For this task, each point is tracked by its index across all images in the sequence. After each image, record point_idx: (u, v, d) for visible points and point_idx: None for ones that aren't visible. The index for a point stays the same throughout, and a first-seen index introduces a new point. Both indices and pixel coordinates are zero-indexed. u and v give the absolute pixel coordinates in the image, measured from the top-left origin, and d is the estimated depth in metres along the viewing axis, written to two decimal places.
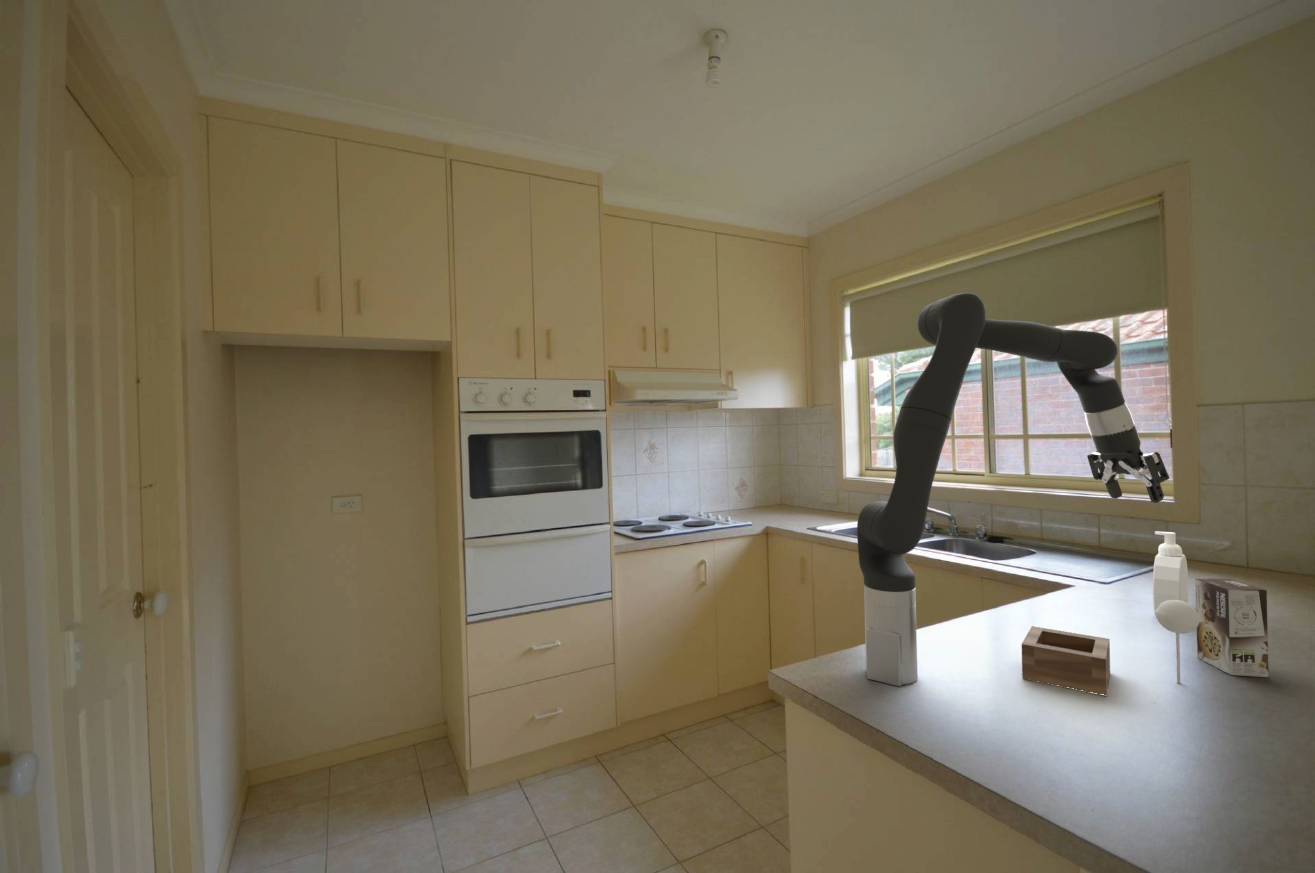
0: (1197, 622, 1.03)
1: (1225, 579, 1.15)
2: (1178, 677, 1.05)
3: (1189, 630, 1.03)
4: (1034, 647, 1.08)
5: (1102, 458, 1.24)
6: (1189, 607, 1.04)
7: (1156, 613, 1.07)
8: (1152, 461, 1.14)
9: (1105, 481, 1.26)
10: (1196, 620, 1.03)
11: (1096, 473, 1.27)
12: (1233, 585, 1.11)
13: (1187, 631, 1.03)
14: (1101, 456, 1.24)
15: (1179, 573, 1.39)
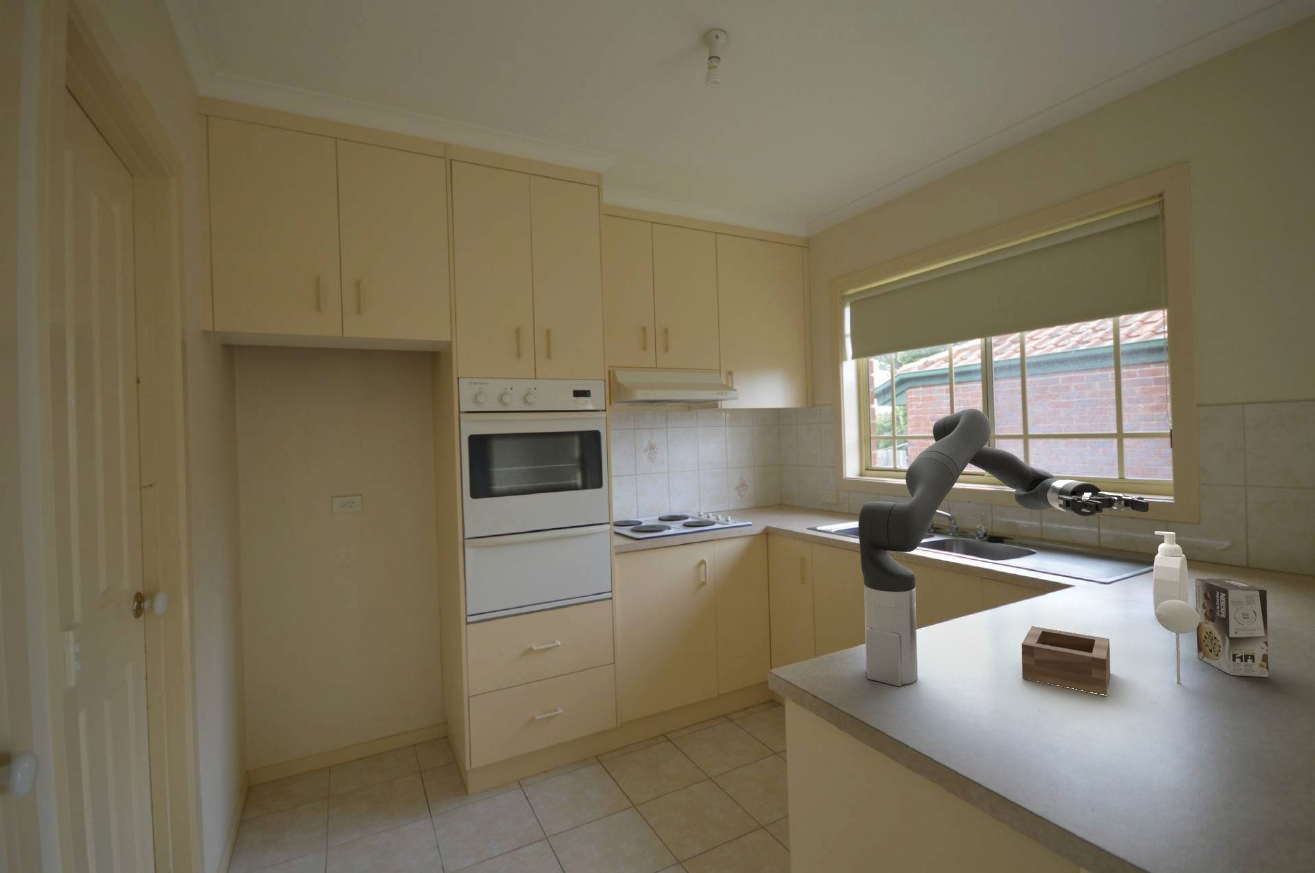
0: (1197, 622, 1.03)
1: (1225, 579, 1.15)
2: (1178, 677, 1.05)
3: (1189, 630, 1.03)
4: (1034, 647, 1.08)
5: (1076, 496, 1.27)
6: (1189, 607, 1.04)
7: (1156, 613, 1.07)
8: None
9: (1086, 499, 1.22)
10: (1196, 620, 1.03)
11: None
12: (1233, 585, 1.11)
13: (1187, 631, 1.03)
14: (1074, 496, 1.28)
15: (1179, 573, 1.39)
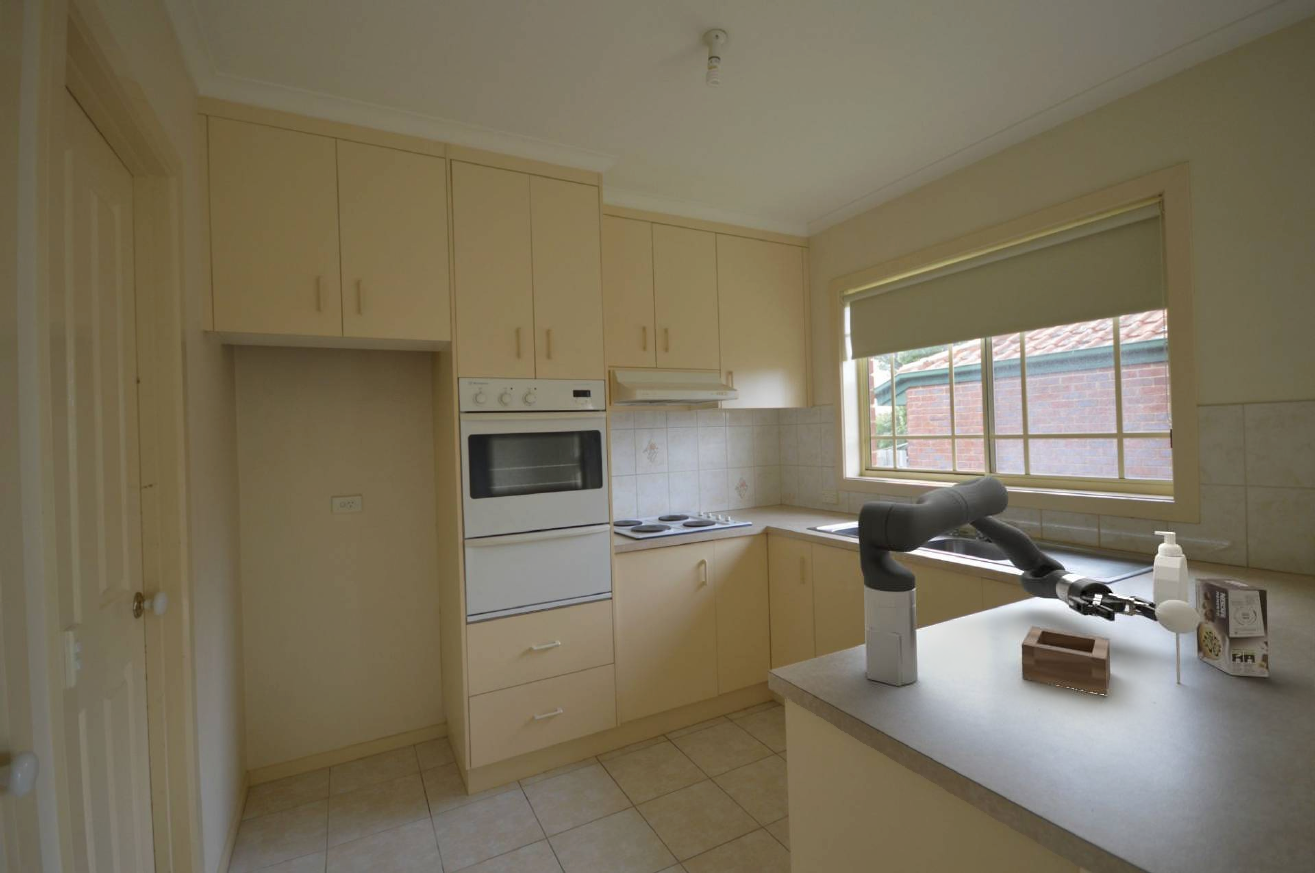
0: (1197, 622, 1.03)
1: (1225, 579, 1.15)
2: (1178, 677, 1.05)
3: (1189, 630, 1.03)
4: (1034, 647, 1.08)
5: (1086, 597, 1.26)
6: (1189, 607, 1.04)
7: (1156, 613, 1.07)
8: None
9: (1097, 603, 1.20)
10: (1196, 620, 1.03)
11: (1084, 601, 1.22)
12: (1233, 585, 1.11)
13: (1187, 631, 1.03)
14: (1084, 596, 1.26)
15: (1179, 573, 1.39)
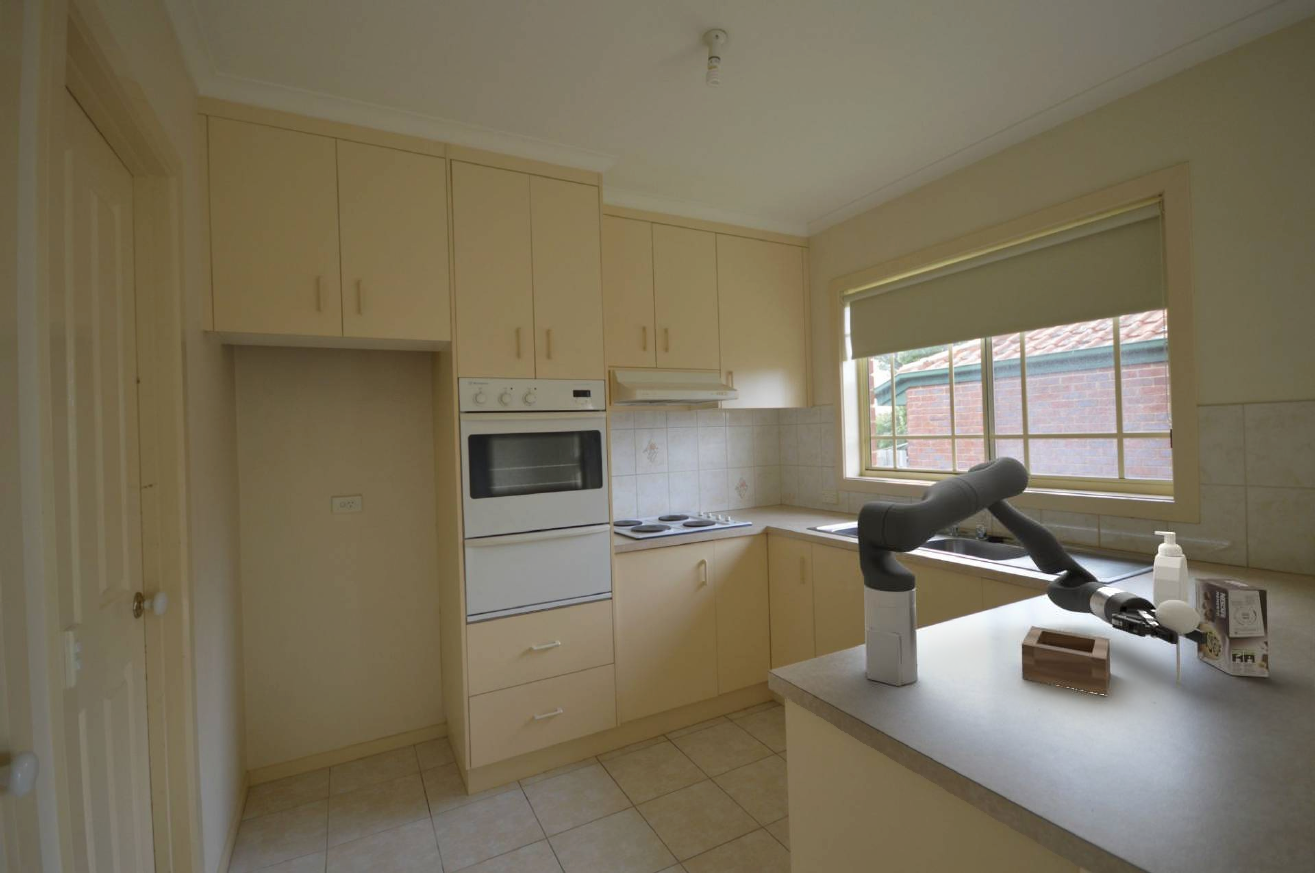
0: (1197, 622, 1.03)
1: (1225, 579, 1.15)
2: (1178, 677, 1.05)
3: (1189, 630, 1.03)
4: (1034, 647, 1.08)
5: (1127, 614, 1.13)
6: (1189, 607, 1.04)
7: (1156, 613, 1.07)
8: None
9: (1156, 623, 1.07)
10: (1196, 620, 1.03)
11: (1137, 620, 1.09)
12: (1233, 585, 1.11)
13: (1187, 631, 1.03)
14: (1125, 613, 1.14)
15: (1179, 573, 1.39)
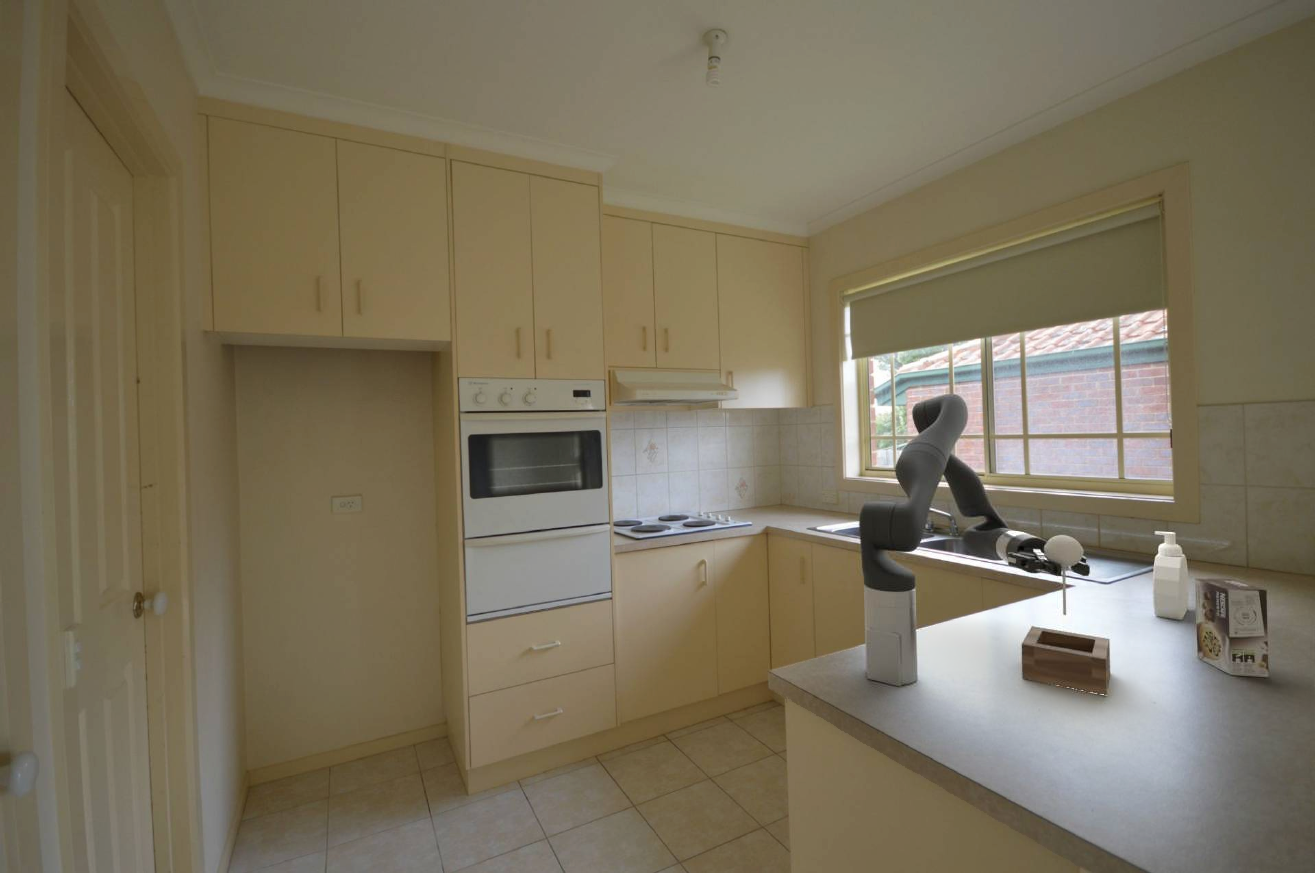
0: (1080, 555, 1.07)
1: (1225, 579, 1.15)
2: (1064, 609, 1.10)
3: (1072, 562, 1.07)
4: (1034, 647, 1.08)
5: (1023, 552, 1.18)
6: (1073, 541, 1.08)
7: (1044, 548, 1.11)
8: None
9: (1044, 558, 1.11)
10: (1078, 552, 1.07)
11: (1029, 557, 1.13)
12: (1233, 585, 1.11)
13: (1071, 564, 1.08)
14: (1021, 552, 1.18)
15: (1179, 573, 1.39)
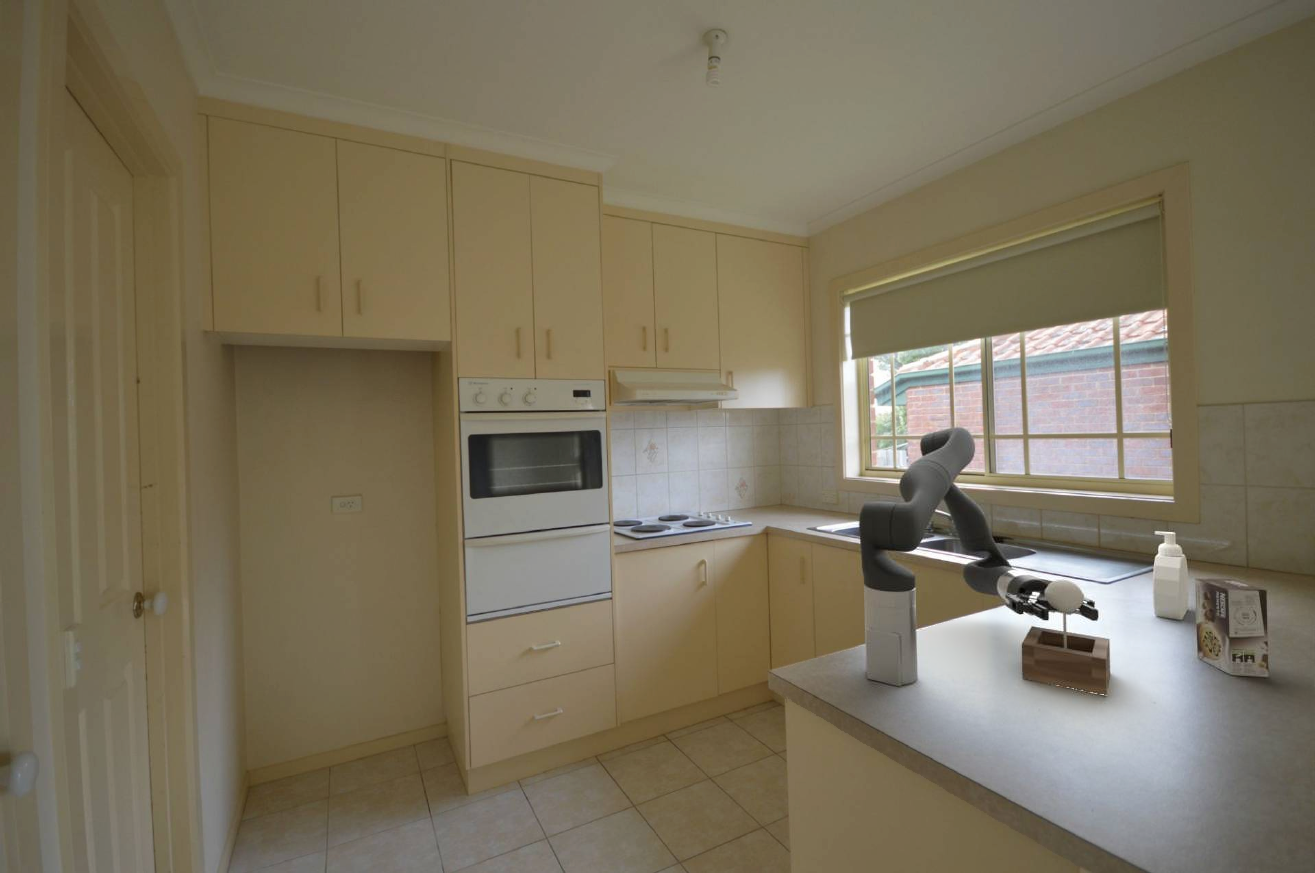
0: (1080, 600, 1.07)
1: (1225, 579, 1.15)
2: None
3: (1073, 608, 1.08)
4: (1034, 647, 1.08)
5: (1023, 595, 1.18)
6: (1073, 586, 1.08)
7: (1045, 592, 1.11)
8: None
9: (1032, 602, 1.12)
10: (1079, 598, 1.07)
11: (1019, 599, 1.14)
12: (1233, 585, 1.11)
13: (1071, 609, 1.08)
14: (1022, 594, 1.18)
15: (1179, 573, 1.39)
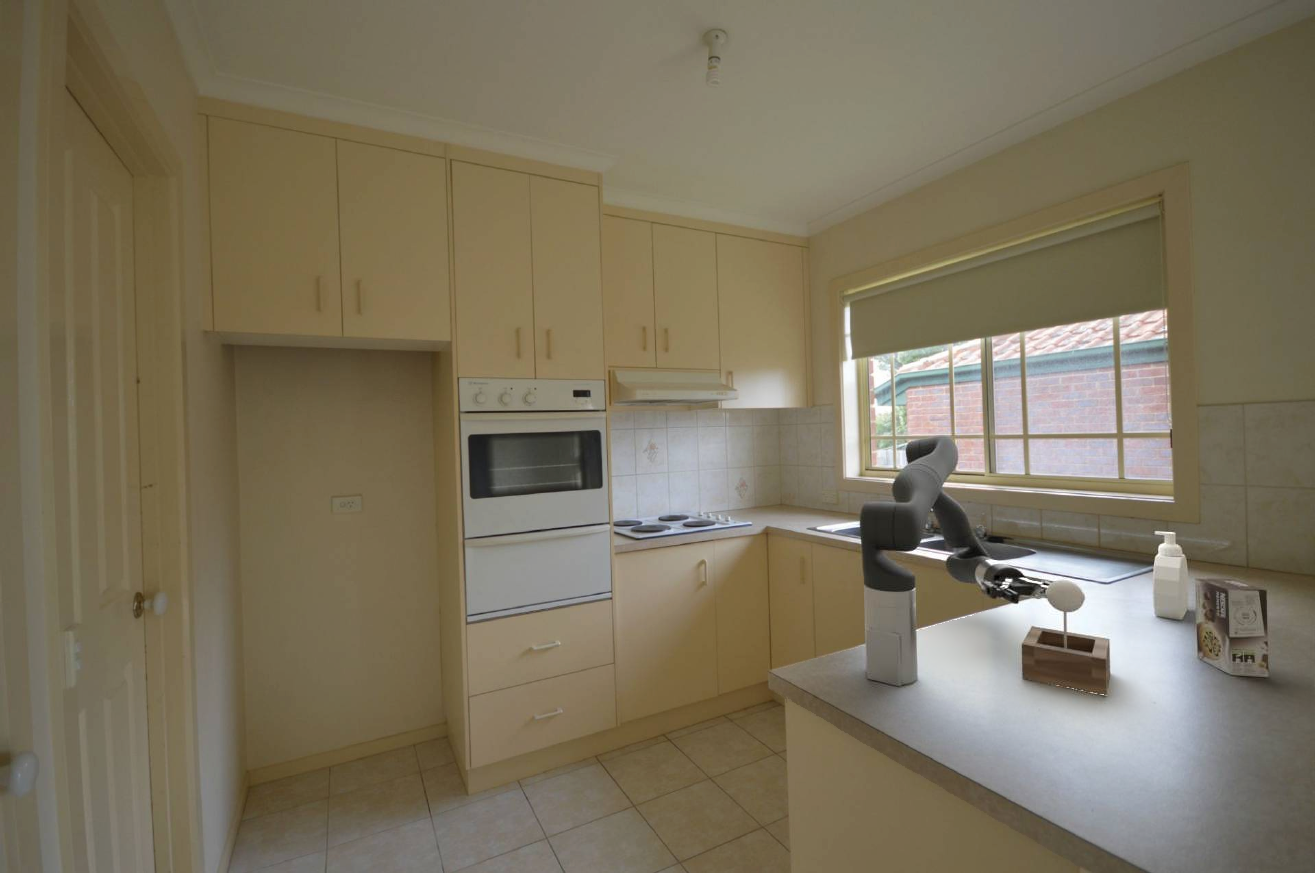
0: (1081, 601, 1.07)
1: (1225, 579, 1.15)
2: None
3: (1074, 609, 1.07)
4: (1034, 647, 1.08)
5: (998, 581, 1.28)
6: (1074, 587, 1.08)
7: (1045, 593, 1.11)
8: None
9: (1005, 587, 1.23)
10: (1079, 599, 1.07)
11: (993, 585, 1.25)
12: (1233, 585, 1.11)
13: (1072, 609, 1.08)
14: (996, 581, 1.29)
15: (1179, 573, 1.39)
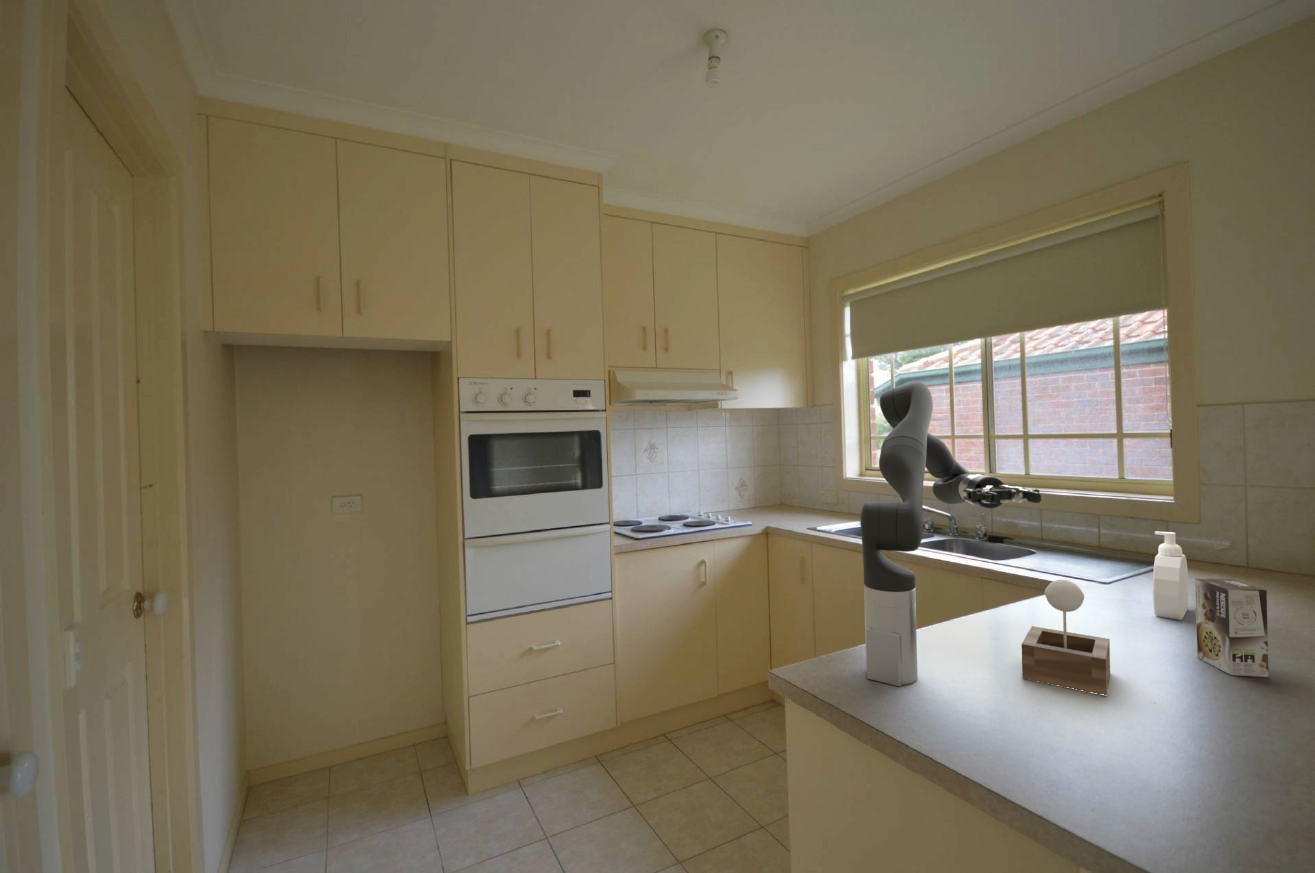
0: (1080, 600, 1.07)
1: (1225, 579, 1.15)
2: None
3: (1073, 608, 1.08)
4: (1034, 647, 1.08)
5: (979, 489, 1.33)
6: (1074, 586, 1.08)
7: (1045, 592, 1.11)
8: None
9: (985, 490, 1.28)
10: (1079, 598, 1.07)
11: None
12: (1233, 585, 1.11)
13: (1071, 609, 1.08)
14: (978, 489, 1.34)
15: (1179, 573, 1.39)
